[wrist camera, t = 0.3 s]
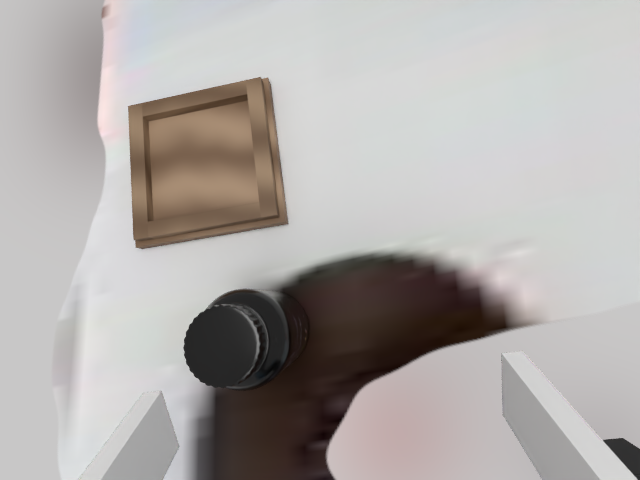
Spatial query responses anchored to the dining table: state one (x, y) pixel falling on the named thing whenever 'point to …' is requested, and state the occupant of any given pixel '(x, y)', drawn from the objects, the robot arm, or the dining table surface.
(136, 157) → the walnut tray
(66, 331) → the dining table surface
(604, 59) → the dining table surface
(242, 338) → the supplement bottle
